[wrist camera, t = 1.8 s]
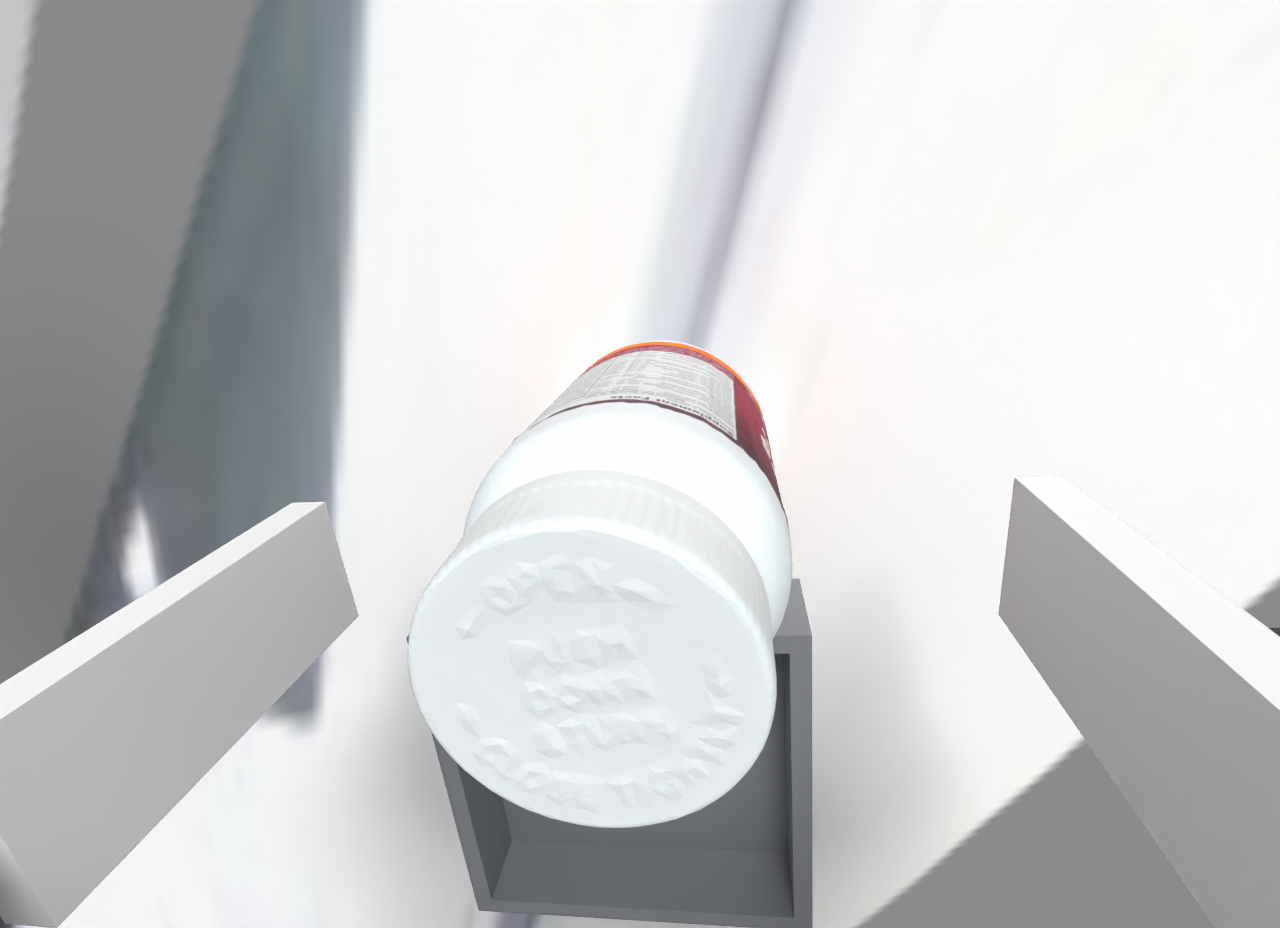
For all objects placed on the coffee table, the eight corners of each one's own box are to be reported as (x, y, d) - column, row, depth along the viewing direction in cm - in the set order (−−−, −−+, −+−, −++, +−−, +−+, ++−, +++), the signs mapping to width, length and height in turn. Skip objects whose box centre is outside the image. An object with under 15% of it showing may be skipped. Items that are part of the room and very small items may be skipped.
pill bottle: (749, 540, 20) (779, 894, 9) (559, 514, 20) (384, 822, 10) (781, 346, 18) (870, 522, 7) (567, 323, 18) (351, 454, 8)
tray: (505, 837, 26) (478, 910, 23) (447, 585, 22) (406, 637, 19) (801, 849, 24) (812, 931, 21) (798, 578, 20) (811, 635, 17)
